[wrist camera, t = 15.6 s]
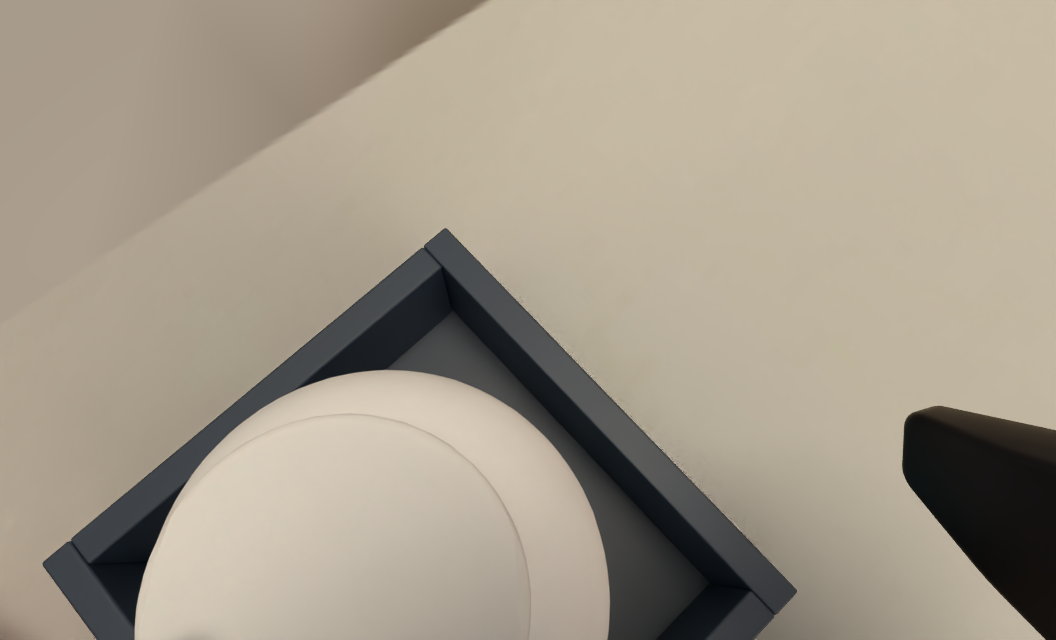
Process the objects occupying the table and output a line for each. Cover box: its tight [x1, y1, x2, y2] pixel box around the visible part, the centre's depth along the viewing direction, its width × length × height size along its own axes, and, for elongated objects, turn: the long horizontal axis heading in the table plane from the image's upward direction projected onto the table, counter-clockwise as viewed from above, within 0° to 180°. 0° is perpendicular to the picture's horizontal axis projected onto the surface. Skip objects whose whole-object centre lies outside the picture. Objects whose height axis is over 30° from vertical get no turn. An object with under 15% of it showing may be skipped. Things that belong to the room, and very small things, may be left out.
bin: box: [43, 228, 797, 640], centre depth 20 cm, size 13×13×4 cm
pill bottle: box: [135, 370, 610, 640], centre depth 16 cm, size 8×7×14 cm
